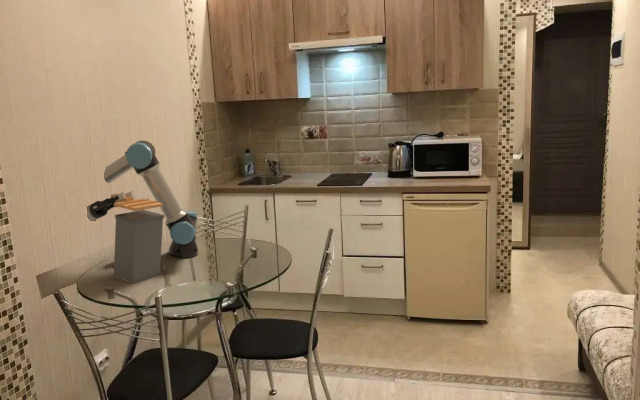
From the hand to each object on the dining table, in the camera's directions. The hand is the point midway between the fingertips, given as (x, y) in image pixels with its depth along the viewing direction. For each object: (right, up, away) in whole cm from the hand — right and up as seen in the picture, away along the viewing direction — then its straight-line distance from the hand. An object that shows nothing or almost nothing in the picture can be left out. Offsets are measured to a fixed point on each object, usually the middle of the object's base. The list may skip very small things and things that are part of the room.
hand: (128, 194), depth 229 cm
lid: (+2, -4, 0) cm, 5 cm away
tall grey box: (+3, -37, +4) cm, 37 cm away
